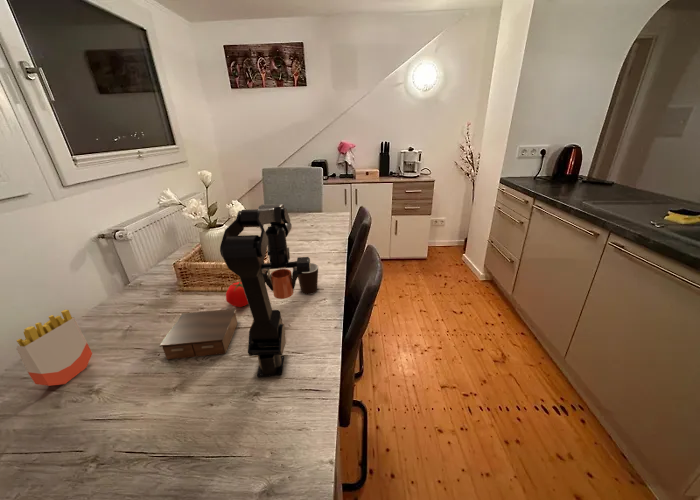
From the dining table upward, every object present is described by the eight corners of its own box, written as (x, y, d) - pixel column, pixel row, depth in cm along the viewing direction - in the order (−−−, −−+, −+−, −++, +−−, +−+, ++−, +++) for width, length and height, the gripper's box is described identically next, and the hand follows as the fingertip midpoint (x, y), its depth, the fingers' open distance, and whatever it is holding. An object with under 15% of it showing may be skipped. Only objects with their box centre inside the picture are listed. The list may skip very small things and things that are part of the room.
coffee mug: (316, 296, 107) (314, 273, 103) (295, 294, 109) (292, 272, 105) (324, 281, 118) (323, 260, 114) (305, 280, 119) (303, 259, 115)
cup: (292, 298, 89) (290, 277, 86) (272, 299, 89) (269, 278, 86) (294, 287, 95) (292, 268, 92) (275, 289, 94) (272, 269, 92)
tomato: (224, 303, 105) (220, 283, 101) (251, 293, 111) (247, 274, 107) (233, 314, 98) (228, 294, 95) (261, 303, 104) (257, 283, 101)
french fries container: (38, 390, 71) (1, 333, 63) (82, 358, 80) (54, 306, 73) (53, 392, 70) (18, 335, 63) (96, 360, 80) (69, 307, 73)
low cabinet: (226, 355, 80) (222, 340, 78) (164, 361, 78) (158, 346, 76) (239, 322, 94) (236, 308, 92) (186, 327, 92) (182, 313, 90)
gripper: (308, 234, 93) (312, 275, 99) (251, 237, 92) (258, 279, 98) (307, 247, 83) (311, 292, 89) (243, 250, 81) (251, 296, 88)
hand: (283, 289), depth 91 cm, fingers closed on cup, 6 cm apart
